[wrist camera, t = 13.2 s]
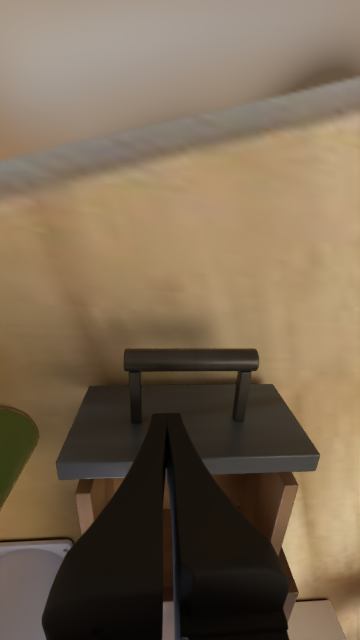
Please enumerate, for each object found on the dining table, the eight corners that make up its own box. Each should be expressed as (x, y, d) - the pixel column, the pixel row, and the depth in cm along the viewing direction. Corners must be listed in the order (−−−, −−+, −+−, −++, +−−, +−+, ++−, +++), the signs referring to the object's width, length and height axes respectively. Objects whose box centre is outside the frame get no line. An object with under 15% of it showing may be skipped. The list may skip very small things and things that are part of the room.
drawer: (82, 323, 16) (39, 380, 11) (284, 325, 17) (345, 378, 12) (102, 505, 23) (81, 603, 17) (250, 499, 23) (279, 590, 18)
